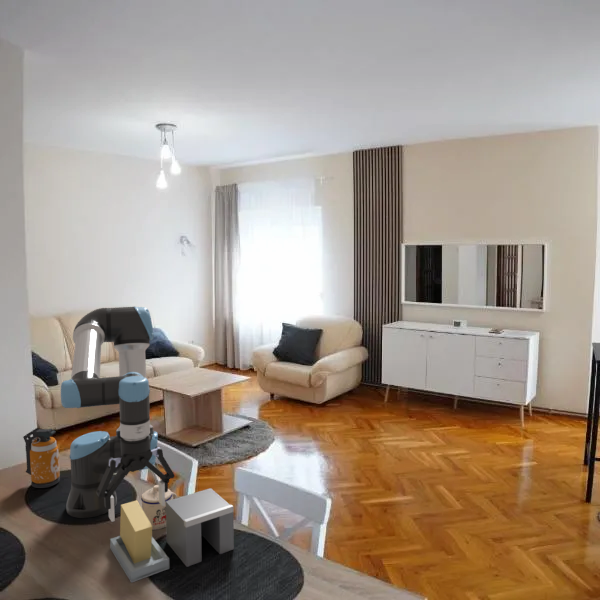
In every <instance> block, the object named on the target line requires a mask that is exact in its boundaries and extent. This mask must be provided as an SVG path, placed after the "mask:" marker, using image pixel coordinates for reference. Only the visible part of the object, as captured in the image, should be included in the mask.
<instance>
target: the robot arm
mask: <svg viewBox="0 0 600 600" xmlns="http://www.w3.org/2000/svg"><path fill="white" fill-rule="evenodd" d="M72 340H73V343H74V344H75V345H74V353H73V361H72V368H71V377H70V378H69V379H67V380H63V381H62V382H61V384H60V401H61V406H62V407H63V408H64V409H80V408H88V407H89V408H90V407H99V406H112V405H119V406H118V407H119V427H118V428H117V429H116V431H115V435H113V436H110V434H109V432H108V431H104V430H103V431H102V430H99V431H91V432H88V433H84V434H83V435H80V436H78V437H76V438H75V439H74V440H73V441H72V442H71V444H70V449H69V450H70V451H69V459H70V473H71V474H70V476H71V477H70V479H71V486H70V490H69V494H68V497H67V500H66V504H65V505H66V507H65V508H66V513H67V515H69V516H70V517H73V518H78V519H87V518H95V517H98V516H102V515H104V514H106V513H108V518H109V520H110V521H111V522H115V521H116V517H115V507H116V506H117V504H118V498H117V497H118V496H117V492H116V490H117V489H118V487H119V485H120V484H121V483H122V481H123V480H124V478H126V476H128V474H129V473H130V472H131V473H134V472H136V471H139V472H141V471H144V470H150V471H151V472H152V473H154V475H156V477H159V478H160V479H158V480H157V481H158V484H157V485H158V486H159V503H160V504H161V505H162V506H165V493H166V492H167V491H168V489H169V486H168V485H169V483H170V479H174V478H175V473H174V471H173V470H172V468H171V467H170V465H169V463H168V461H167V460H166V458H165V457H164V454H163V453H164V452H163V451H164V450H163V449H162V448H161V447H160V446H159V445H158V439H159V438H158V436H159V434H158V432H157V431H155V430H154V426H153V425H152V424H151V420H150V419H151V416H150V392H151V390H150V383H149V379H148V378H147V363H146V359H147V358H146V350H147V349H148V348H149V347H150V345H151V344H150V341H153V340H154V327H153V323H152V318H151V313H150V311H149V309H148V308H147V307H143V306H121V307H100V308H96V309H94V310H92V311H90V312H88V313H86V314H85V315H83V316H82V317H81V319H80V320H79V321H78V322H77V323H76V324H75V327H74V329H73V333H72ZM104 343H113V348H114V349H115V350H116V351H117V352H118V371H119V373H118V374H119V375H118V376H109V377H108V376H107V377H101V359H102V356H101V355H102V345H103V344H104ZM156 459H158V461H159V463H160V464H161V467H163V469H164V471H165V472H166V473H163V472H162V471H161V470H160V469H158V468H157V467H156V465H155V464H156ZM114 474H115V475H114ZM113 476H114V477H113Z"/></svg>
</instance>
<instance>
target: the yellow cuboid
mask: <svg viewBox="0 0 600 600" xmlns="http://www.w3.org/2000/svg"><path fill="white" fill-rule="evenodd" d="M119 521H120V522H119V524H120V526H119V536H121V538H122V540H123V542H124V544H125V546H126V548H127V550H128V552H129V554H130V556H131V559H132V561H133V563H134V564H135V563H137V562H140V561H143V560H146V559H149V558H151V542H152V537H153V530H152V525H151V523H150V521H149V520H148V518H147V516H146V515H145V513H144V511H143V509H142V505H141V504H140V503H139V501H138V500H137V499H136V500H132V501H129V502H126V503H122V504H120V520H119Z"/></svg>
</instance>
